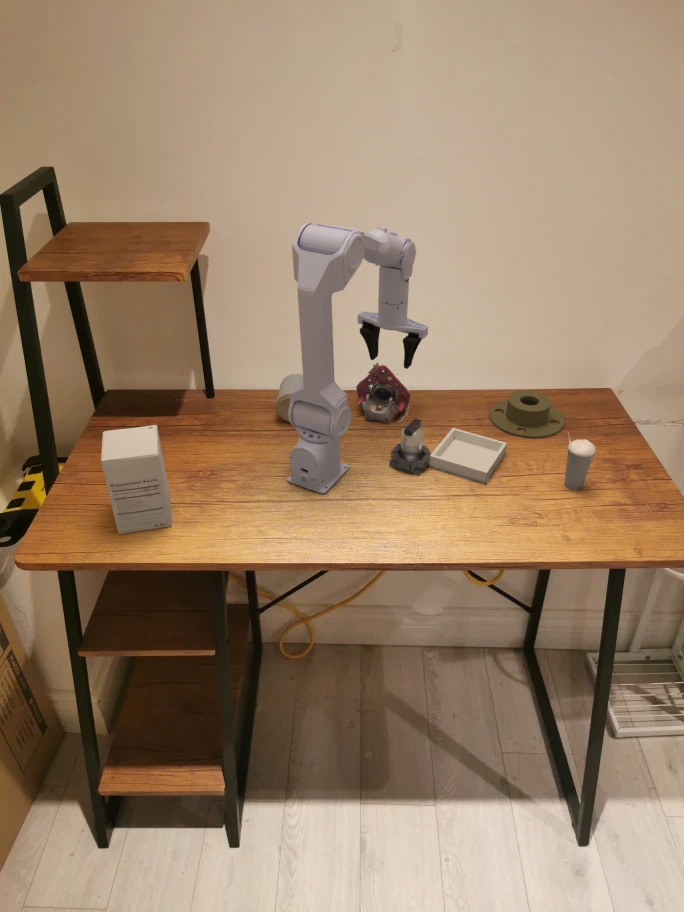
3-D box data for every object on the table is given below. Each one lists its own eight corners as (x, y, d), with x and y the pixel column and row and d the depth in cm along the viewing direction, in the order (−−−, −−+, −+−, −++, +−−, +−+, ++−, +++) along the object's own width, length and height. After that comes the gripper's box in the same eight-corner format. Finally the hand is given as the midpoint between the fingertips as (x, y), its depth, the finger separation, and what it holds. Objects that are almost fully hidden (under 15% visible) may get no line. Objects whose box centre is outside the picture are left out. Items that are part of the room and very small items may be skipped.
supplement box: (118, 502, 125) (101, 429, 117) (170, 495, 127) (158, 423, 119) (116, 535, 118) (99, 461, 110) (172, 527, 120) (159, 453, 111)
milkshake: (565, 473, 132) (574, 426, 126) (591, 485, 129) (602, 438, 123) (551, 483, 129) (561, 436, 124) (578, 496, 126) (589, 449, 121)
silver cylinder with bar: (415, 467, 132) (418, 433, 128) (396, 461, 134) (397, 427, 129) (425, 455, 135) (428, 422, 131) (406, 449, 137) (408, 416, 132)
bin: (485, 484, 129) (486, 472, 128) (428, 466, 134) (429, 455, 132) (505, 453, 137) (507, 443, 136) (451, 438, 142) (452, 427, 140)
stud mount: (420, 477, 131) (420, 468, 130) (385, 466, 134) (385, 457, 133) (435, 458, 136) (436, 449, 135) (401, 448, 139) (402, 438, 138)
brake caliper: (346, 414, 145) (357, 356, 145) (358, 420, 155) (368, 366, 156) (401, 423, 142) (412, 363, 142) (409, 429, 152) (419, 373, 153)
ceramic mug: (275, 424, 146) (273, 391, 142) (281, 403, 153) (279, 371, 148) (327, 427, 146) (327, 394, 141) (330, 406, 152) (331, 374, 148)
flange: (484, 410, 142) (561, 426, 137) (500, 377, 153) (572, 390, 149) (481, 431, 145) (557, 446, 140) (498, 396, 156) (568, 410, 151)
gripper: (436, 299, 139) (431, 362, 146) (369, 285, 145) (368, 346, 152) (421, 312, 134) (416, 376, 141) (352, 297, 140) (352, 360, 147)
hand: (390, 362), depth 147 cm, fingers open, 7 cm apart
